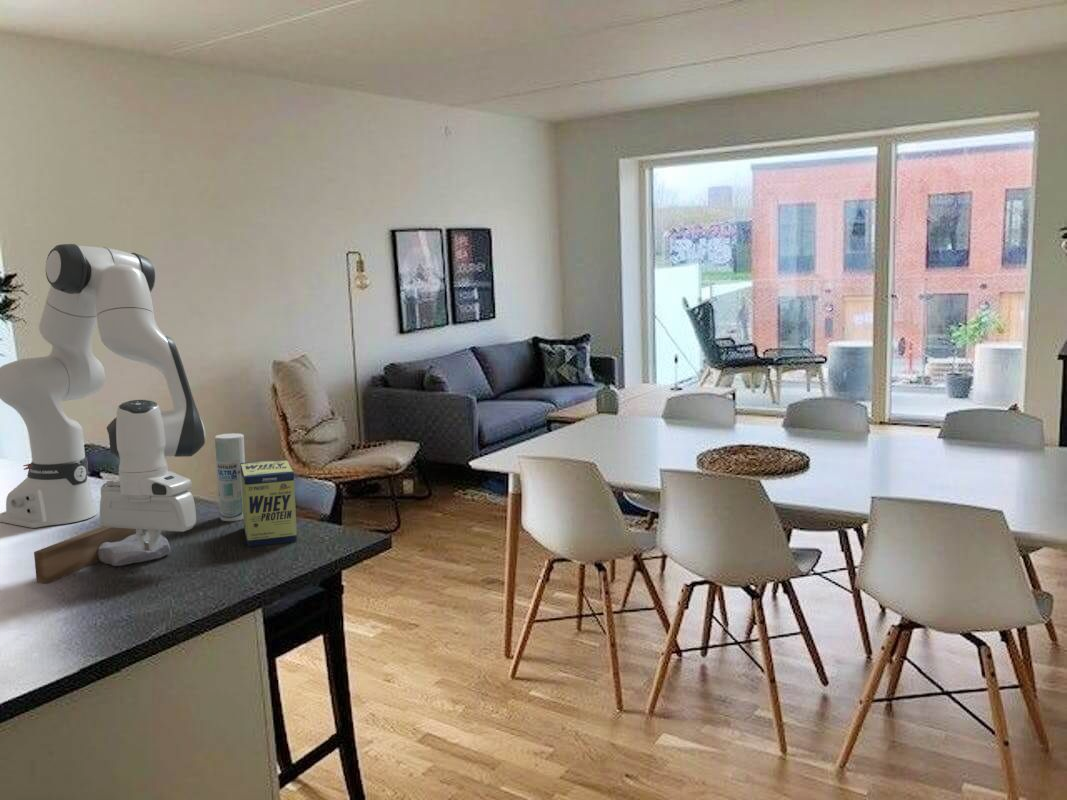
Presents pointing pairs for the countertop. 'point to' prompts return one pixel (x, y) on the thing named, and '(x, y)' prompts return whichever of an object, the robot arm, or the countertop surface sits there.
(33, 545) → the countertop surface
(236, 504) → the spray can
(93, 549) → the walnut board
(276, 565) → the countertop surface
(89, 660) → the countertop surface
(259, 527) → the protein box
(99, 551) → the stone block
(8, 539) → the countertop surface
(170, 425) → the robot arm
